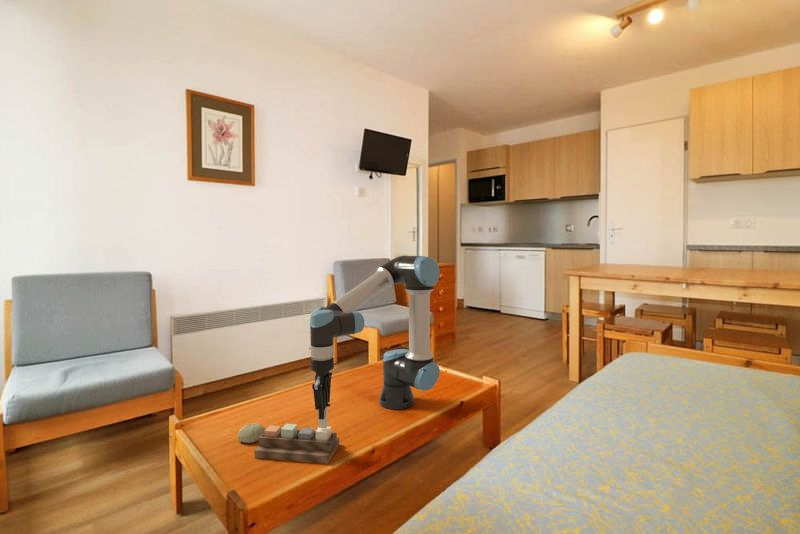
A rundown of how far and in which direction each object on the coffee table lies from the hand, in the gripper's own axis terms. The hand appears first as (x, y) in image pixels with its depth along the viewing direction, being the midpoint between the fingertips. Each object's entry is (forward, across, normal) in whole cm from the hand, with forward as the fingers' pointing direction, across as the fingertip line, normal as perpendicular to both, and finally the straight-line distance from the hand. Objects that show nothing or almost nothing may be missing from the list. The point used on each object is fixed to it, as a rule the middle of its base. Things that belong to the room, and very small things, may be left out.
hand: (322, 426), depth 131 cm
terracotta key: (+5, 0, -18) cm, 19 cm away
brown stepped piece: (+9, 0, -9) cm, 13 cm away
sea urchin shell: (+10, -6, -29) cm, 31 cm away
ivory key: (+4, 0, 0) cm, 4 cm away
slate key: (+5, 0, -6) cm, 8 cm away
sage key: (+4, 0, -12) cm, 13 cm away
